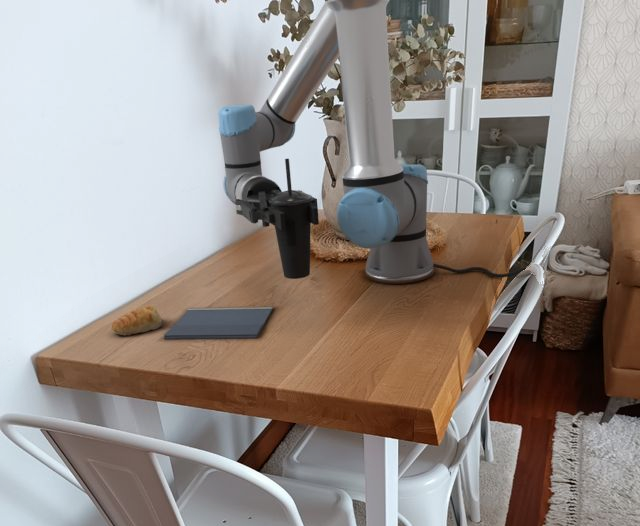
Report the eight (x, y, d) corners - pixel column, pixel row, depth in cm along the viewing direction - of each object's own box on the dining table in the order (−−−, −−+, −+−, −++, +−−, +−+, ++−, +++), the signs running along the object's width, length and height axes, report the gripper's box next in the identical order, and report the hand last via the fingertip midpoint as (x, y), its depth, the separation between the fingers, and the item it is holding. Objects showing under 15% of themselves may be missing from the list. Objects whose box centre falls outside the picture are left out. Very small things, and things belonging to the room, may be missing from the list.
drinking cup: (326, 273, 114) (318, 157, 104) (292, 284, 110) (281, 164, 100) (301, 265, 119) (291, 153, 109) (268, 275, 116) (255, 160, 105)
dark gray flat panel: (273, 308, 126) (273, 305, 126) (257, 338, 114) (256, 334, 113) (189, 310, 129) (188, 306, 129) (164, 339, 117) (163, 335, 116)
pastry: (121, 340, 117) (116, 321, 115) (107, 331, 122) (102, 313, 120) (165, 326, 122) (161, 308, 120) (151, 318, 127) (146, 300, 125)
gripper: (303, 209, 128) (350, 233, 109) (217, 222, 122) (250, 250, 104) (300, 170, 124) (348, 188, 105) (211, 182, 119) (244, 204, 100)
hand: (299, 219), depth 105 cm, fingers closed on drinking cup, 5 cm apart
